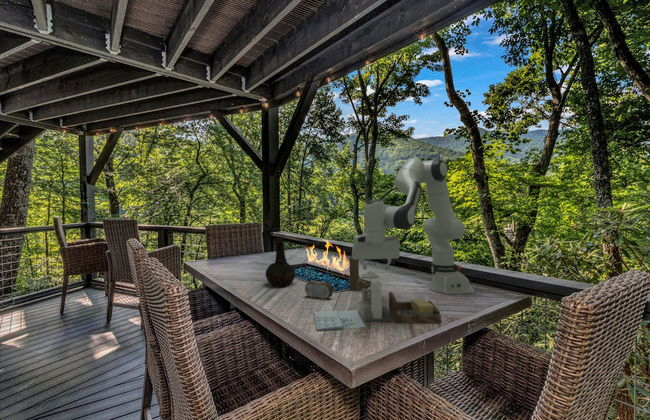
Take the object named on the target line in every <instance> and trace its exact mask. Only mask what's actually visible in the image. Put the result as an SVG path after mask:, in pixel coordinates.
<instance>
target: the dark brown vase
mask: <svg viewBox="0 0 650 420" xmlns="http://www.w3.org/2000/svg"><path fill="white" fill-rule="evenodd" d="M274 242H275V243H276V244H275V245H276V247H275V248H276V249H275V250H276V251H275V260H274V261H275V262H272V263H271V264H270V265H269V266H268V267H267V268H266V270H265V278H266V280H267V282H268V283H270V284H271V285H272V286H275V287H284V286H288V285H290V284H291V283H292V282H293V281H294V280H295V277H296V270H295V268H294V266H293V265H292V264H290V263H288V262H287V258H286V253H285V243H286V241H285V240H284V237H276V238H275V241H274Z"/></svg>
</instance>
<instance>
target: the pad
mask: <svg viewBox="0 0 650 420" xmlns="http://www.w3.org/2000/svg"><path fill="white" fill-rule="evenodd" d="M363 314H364V315H363V316H364V320H365V322H367V323H368V322H371V323H372V322H375V323H377V322H378V323H379V322H382V323H383V322H384V323H385V322H387V323H389V322H391V319H390V316H389V313H388V311H387V308H386V307H385V308H382V319H373V315H372V311H371V308H370V307H363Z"/></svg>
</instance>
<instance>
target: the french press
mask: <svg viewBox="0 0 650 420" xmlns="http://www.w3.org/2000/svg"><path fill="white" fill-rule="evenodd" d="M379 277H380V276H379V274H377V273H376V272H371V271H366V272H365V273H363V274H362V275H361V277H360V279H361V280H362V281H363V280H364V281H365V279H369V281H367V282H365V283H363V285H364V288H363V287H362V290H361V289H360V290H361V291H360V293H361V294H362V297H361V298H362V299H361V302H360V303H359V304H360V306H362V307H363V308H371V279H379ZM358 281H360V280H358ZM358 281H357V283H358V285H359V282H358ZM358 285H357V288H358ZM359 288H360V287H359ZM358 290H359V289H358Z"/></svg>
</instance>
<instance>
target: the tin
mask: <svg viewBox="0 0 650 420" xmlns="http://www.w3.org/2000/svg"><path fill="white" fill-rule="evenodd" d="M304 291H305V293H306V296H307V297H309V298H313V299H320V300H328V299H329V298H331V297H332V295H333V293H334V290H333V287H332V285H331V284H330V283H328V282H327V281H318V280H310V281H309V282H307V283H306V285H305V286H304Z"/></svg>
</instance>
